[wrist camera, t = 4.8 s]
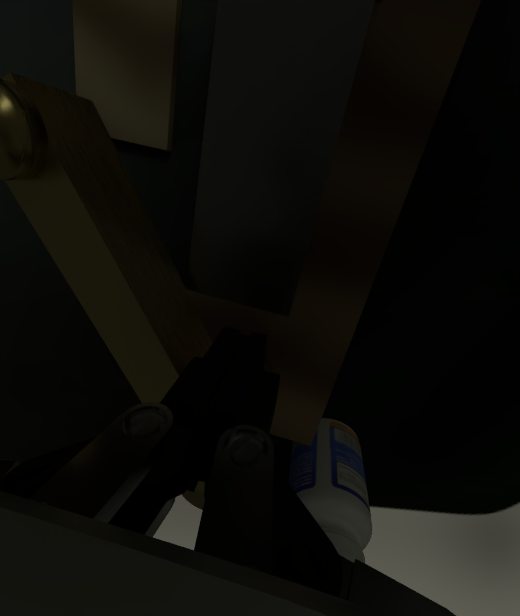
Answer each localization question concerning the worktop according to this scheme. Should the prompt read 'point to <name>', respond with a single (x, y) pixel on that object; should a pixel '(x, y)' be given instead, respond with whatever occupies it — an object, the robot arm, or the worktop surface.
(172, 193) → the worktop surface
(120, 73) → the cork pad
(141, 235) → the lever
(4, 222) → the worktop surface
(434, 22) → the plane body
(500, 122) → the worktop surface
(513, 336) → the worktop surface
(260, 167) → the black rectangular block
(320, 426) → the pill bottle
